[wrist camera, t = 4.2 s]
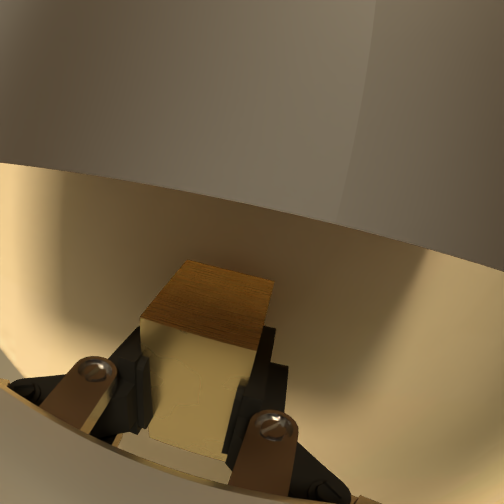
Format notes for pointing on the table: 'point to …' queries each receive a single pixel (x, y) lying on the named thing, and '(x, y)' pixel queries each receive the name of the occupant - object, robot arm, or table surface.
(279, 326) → the table surface
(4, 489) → the robot arm
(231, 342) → the wooden block
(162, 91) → the box
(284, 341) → the table surface
